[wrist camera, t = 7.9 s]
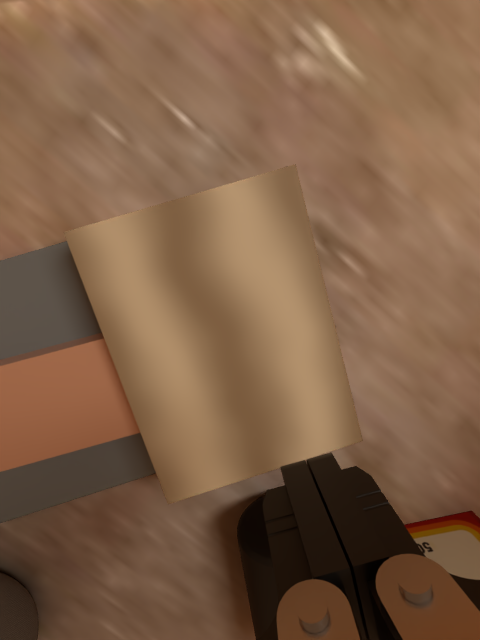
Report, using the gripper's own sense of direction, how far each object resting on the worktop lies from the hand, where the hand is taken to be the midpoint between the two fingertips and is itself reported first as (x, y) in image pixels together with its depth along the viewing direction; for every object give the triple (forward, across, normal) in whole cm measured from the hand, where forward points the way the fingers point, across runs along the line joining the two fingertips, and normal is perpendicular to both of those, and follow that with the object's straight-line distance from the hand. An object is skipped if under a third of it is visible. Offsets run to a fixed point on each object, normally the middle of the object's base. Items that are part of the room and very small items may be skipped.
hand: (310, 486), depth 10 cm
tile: (+14, +12, -1) cm, 18 cm away
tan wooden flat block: (+14, +2, -2) cm, 14 cm away
